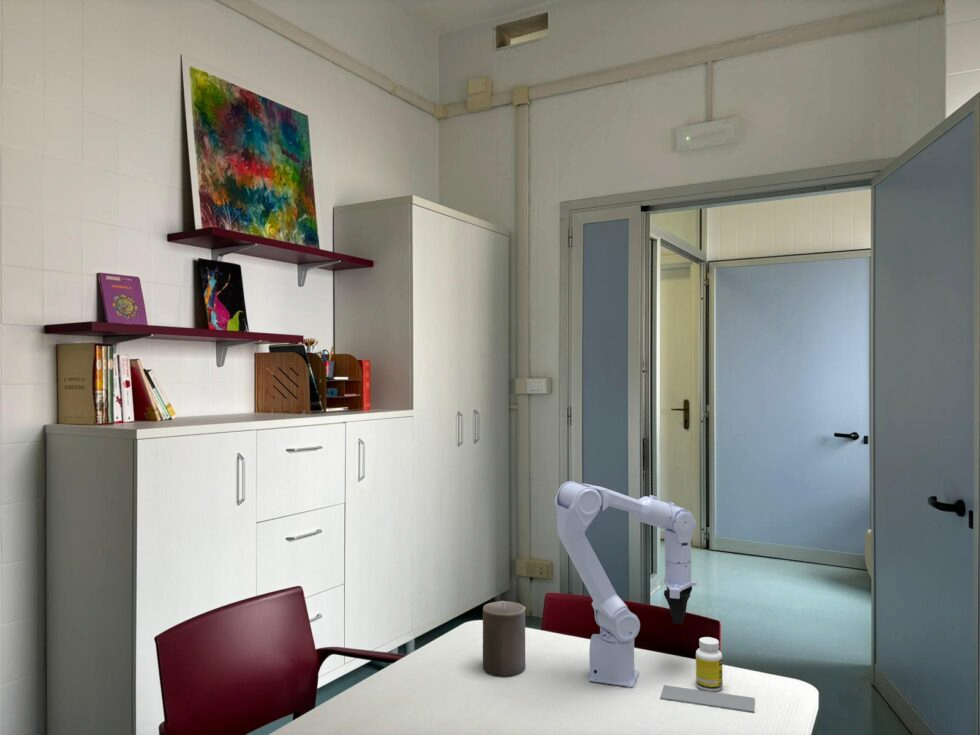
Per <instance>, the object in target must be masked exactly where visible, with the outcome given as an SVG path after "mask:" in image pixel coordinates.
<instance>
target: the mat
mask: <svg viewBox="0 0 980 735" xmlns="http://www.w3.org/2000/svg"><path fill="white" fill-rule="evenodd" d="M659 699H660V700H664V699H665V701H670V702H671V701H672V702H677V701H678V702H679V703H684V702H686V703H685V704H691V703H694V704H693V705H698V704H699V706H706V707H710V708H711V707H712V708H718V707H719V708H720V709H726V710H733V711H740V712H744V713H745V712H747V713H755V700H756V698H755V697H751V696H745V695H737V694H730V693H723V692H718V691H715V692H710V691H704V690H702V689H694V688H687V687H681V686H673V685H665V684H663V688H662V691H661V694H660V697H659ZM719 708H718V709H719Z"/></svg>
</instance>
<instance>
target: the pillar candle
mask: <svg viewBox="0 0 980 735" xmlns="http://www.w3.org/2000/svg"><path fill="white" fill-rule="evenodd" d="M526 609H527V608H526V606H524V605H522V604H520V603H518V602H513V601H505V600H500V601H494V602H493V601H492V602H490V603H486V604H485V605H483V608H482V670H483V671H484V673H486V674H488V675H490V676H493V677H497V678H509V677H515V676H519V675H521V674H522V673H524V672H525V670H526Z"/></svg>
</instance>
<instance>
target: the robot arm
mask: <svg viewBox="0 0 980 735" xmlns="http://www.w3.org/2000/svg"><path fill="white" fill-rule="evenodd" d="M553 502H554V505H555V508H556V532H557V536H558V538H559V539H560V541H561V544H562V546H563V547H564V549H565V550H566V553H567V555H568V556H569V558H570V560H571V562H572V563H573V566H574V567H575V570H576V571H577V573H578V575H579V577H580V578H581V580H582V582H583V584H584V586H585V589H586V590H587V592H588V594H589V595H590V597H591V599H592V602H591V606H592V608H593V611H594V620H595V622H596V625H598V627H599V633H593V634H592V635H591V637H590V640H589V649H588V650H589V652H588V656H589V678H588V681H589V682H591V683H592V682H593V683H598V684H599V683H600V684H607V685H614V686H621V687H627V688H628V687H629V688H633V687H634V686H635V683H636V682H637V679H638V676H639V674H640V670H638V669H635V638H636V637H637V636H638V635H639V632H640V629H641V622H640V619H639V618H638V617H639V616H637V615H636V614H635V613H633V612H631V611H630V610H629V608H628V605H627V604H626V603H625V602H624V601H623V600H622V599H621V597H620V596H619V595H618V594H617V592H616V590H615V588H614V586H613V585H612V583H611V581H610V579H609V577H608V575H607V573H606V571H605V569H604V568H603V566H602V564H601V562H600V560H599V558H598V556H597V555H596V552H595V551H594V549H593V547H592V545H591V543H590V541H589V540H588V538H587V536H586V531H587V528H588V527H589V526H590V525H591V523H592V522H593V520H594V519H595V518H596V516H597V515H598V513H599V512H600V511H605V510H606V509H607V508H609V507H611V508H615V509H617V510H622V511H624V512H629V513H632V514H634V516H635V518H636V520H637V521H638V522H640V523H642V524H643V523H644V524H646V525H650V526H653V527H656V528H660V529H662V530H664V532H663V533H664V579H663V581H664V584H665V586H666V589H664V591H663V596H664V598H665V600H666V601H667V605H668V607H669V612H670V617H671V621H672V623H673V624H677V625H683V623H684V620H685V616H686V612H687V606H688V601H689V599H690V597H691V593H692V591H693V586H697V584H698V581H697V580H696V579H692V540H693V532H694V531H695V528H696V527H697V520H695V518H694V515H693V513H692V512H691V510H689V509H686V508H683V507H681V506H677V505H676V504H675V503H674V502H671V501H668V502H665V501H662V500H659V499H658V497H657V496H656V495H655V496H654V495H653V494H650V495H648V496H642V497H640V498H639V499H637V498H634V497H631V496H629V495H625V494H623V493H620V492H616V491H615V490H612V489H608V488H606V487H603V486H598V485H594V484H593V485H592V484H588V483H584V482H583V483H581V484H580V483H578V482H577V481H573V480H569V481H566V482H564V483H562V484H561V485H560V487H559V488H558V490H557V493H556V495H555V498H554V500H553Z"/></svg>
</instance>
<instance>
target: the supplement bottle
mask: <svg viewBox="0 0 980 735" xmlns="http://www.w3.org/2000/svg"><path fill="white" fill-rule="evenodd" d="M698 641H699V642H698V645H699V648H697V650H696V651H695V684H696V687H697V688H698V689H699V690H703V691H710V692H720V691H721V690H722V688H723V685H724V684H723V681H724V680H723V653H722V651H720V650H719V648H720V642H719V640H718V639H717V638H714V637H710V636H704V637H700V638H699V639H698Z"/></svg>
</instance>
